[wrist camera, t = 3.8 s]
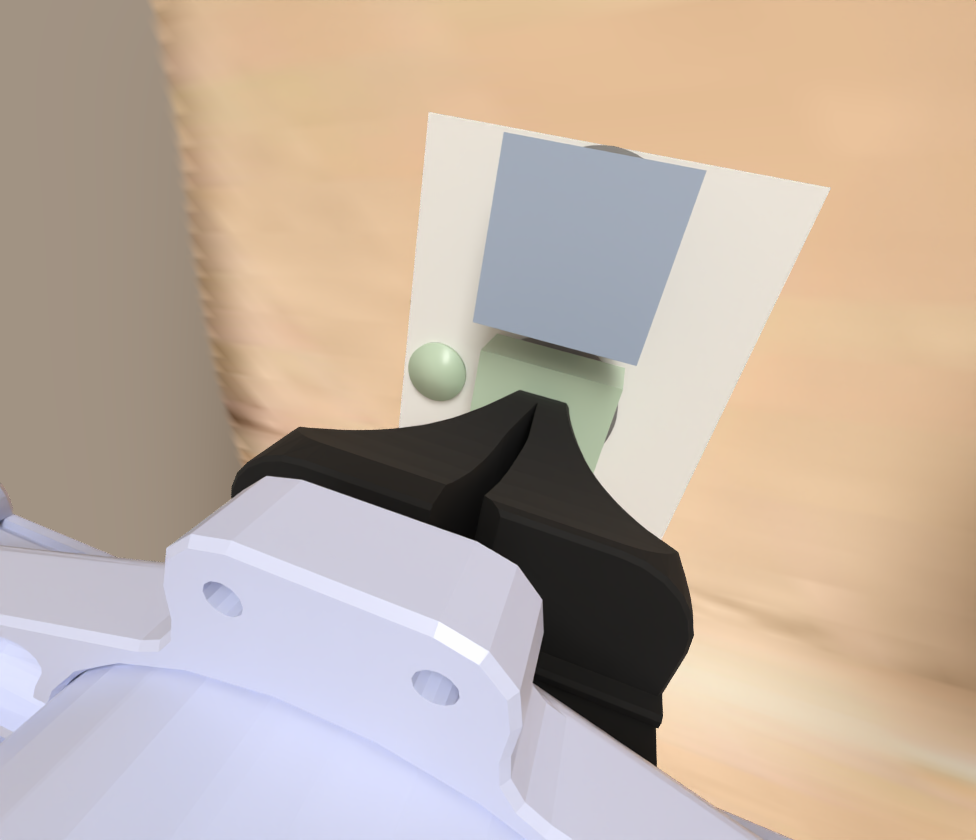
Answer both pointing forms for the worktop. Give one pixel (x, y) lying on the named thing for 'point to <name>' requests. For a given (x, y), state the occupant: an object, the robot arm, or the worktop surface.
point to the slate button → (581, 244)
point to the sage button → (553, 385)
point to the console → (673, 333)
